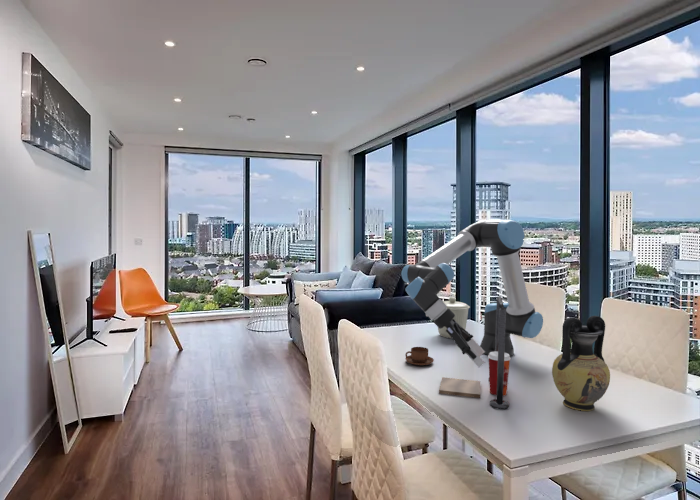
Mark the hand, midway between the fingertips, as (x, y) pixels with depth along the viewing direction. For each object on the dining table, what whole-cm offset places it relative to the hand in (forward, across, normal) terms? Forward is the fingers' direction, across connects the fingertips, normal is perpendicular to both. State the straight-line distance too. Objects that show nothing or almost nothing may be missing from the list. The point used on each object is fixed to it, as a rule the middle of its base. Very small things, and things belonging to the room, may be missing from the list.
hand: (482, 359), depth 160 cm
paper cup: (+12, -1, -4) cm, 13 cm away
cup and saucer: (-9, -27, -27) cm, 39 cm away
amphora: (+30, +3, +14) cm, 33 cm away
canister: (-3, -79, -19) cm, 81 cm away
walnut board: (+3, -1, -13) cm, 14 cm away
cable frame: (+12, -1, -4) cm, 13 cm away
